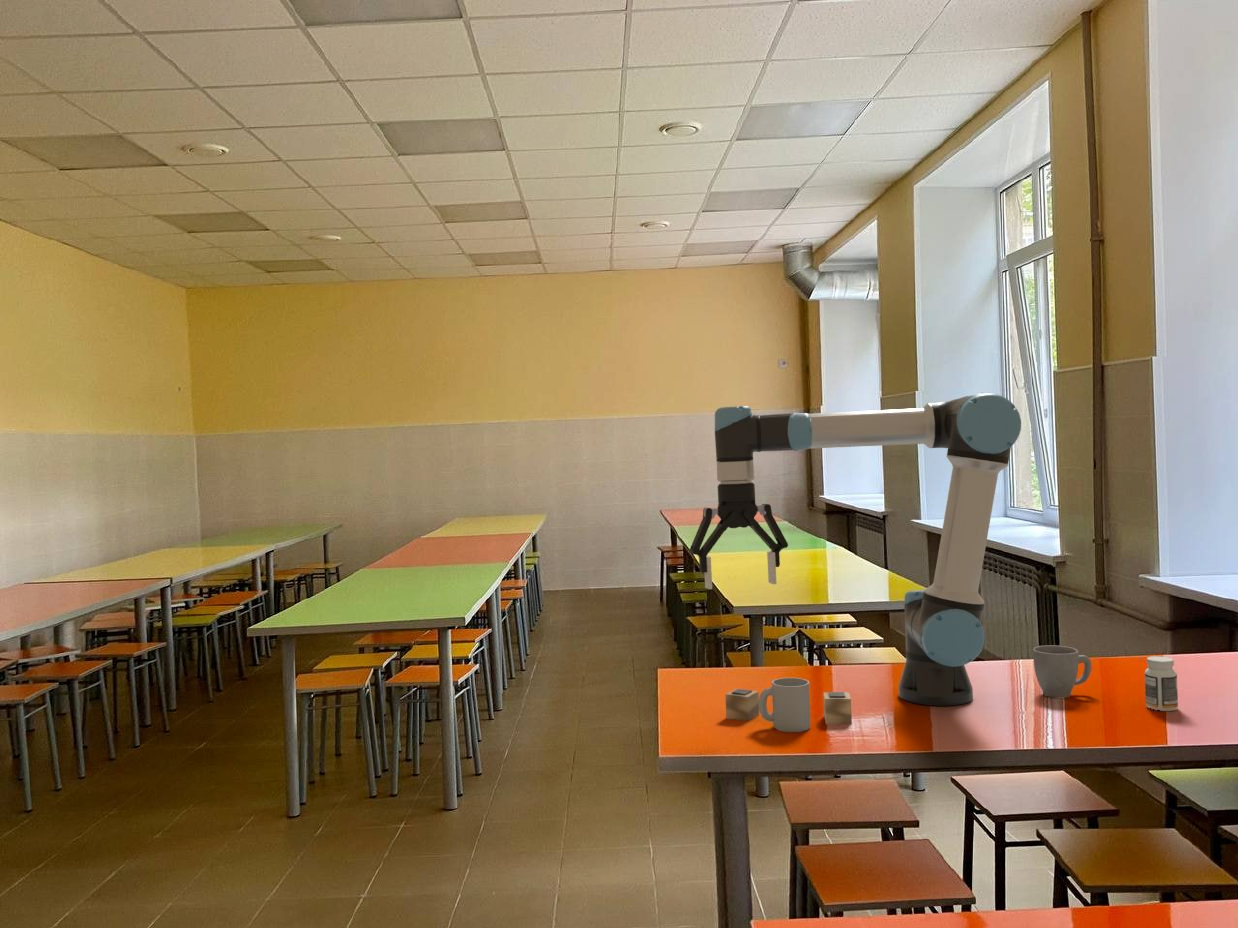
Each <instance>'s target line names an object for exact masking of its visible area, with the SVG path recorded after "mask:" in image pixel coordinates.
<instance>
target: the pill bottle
mask: <svg viewBox="0 0 1238 928" xmlns="http://www.w3.org/2000/svg"><path fill="white" fill-rule="evenodd" d="M1174 661H1175V660H1174V659H1173V657H1172V658H1171V657H1167V656H1155V655H1154V656H1149V657H1146V665H1147V666H1148V668H1146V669H1145V671H1144V691H1145V692H1144V695H1145V706H1146V708H1148V709H1150V708H1151V709H1150V710H1153V709H1154V710H1153V711H1157V710H1160V711H1159V712H1172V711H1176V710H1178V708H1179V700H1178V698H1179V697H1178V674H1177V671H1175V670H1174V669H1173V667H1174V665H1175V662H1174Z"/></svg>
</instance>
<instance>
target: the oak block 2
mask: <svg viewBox="0 0 1238 928" xmlns="http://www.w3.org/2000/svg"><path fill="white" fill-rule="evenodd" d="M823 716H824V717H823V718H824V721H825V724H826V725H828V724H835V725H837V724H838V725H840V724H841V725H843V724H844V725H846V724H847V725H852V723H853V721H852V720H853V719H852V717H853V716H852V698H851V695H850V693H849V692H845V691H844V692H843V691H841V692H840V691H839V692H838V691H836V692H835V691H834V692H833V691H832V692H831V691H830V692H823Z"/></svg>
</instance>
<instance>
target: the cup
mask: <svg viewBox="0 0 1238 928" xmlns="http://www.w3.org/2000/svg"><path fill="white" fill-rule="evenodd" d="M810 695H811V694H810V681H809V680H808V679H804V678H799V677H781V678H776V679H773V680H772V681H771V687H769V686H768V687H767V688H764V689H763V690H762V691H761V692H760V693H759V695H758V696H759V701H758V707H759V715H760V716H761V717H762V718H763V719H764V720H765V721H768V722H770V723H773V724H772V725H773V727H774V729H775V730H777V731H780V732H783V733H802V732H806V731H809V730H810V728H811V700H810V699H811V698H810V697H811V696H810ZM771 696H772V699H771V700H772V712H771V713H770V712H769V710H768V706H767V701H768V697H771Z"/></svg>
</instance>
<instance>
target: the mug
mask: <svg viewBox="0 0 1238 928" xmlns="http://www.w3.org/2000/svg"><path fill="white" fill-rule="evenodd" d="M1032 657H1033V666H1034V667H1033V668H1034V672H1035V677H1036V681H1037V682H1038V684H1039V687H1040V688H1041V692H1042V695H1043V696H1046V697H1050V698H1055V699H1064V698H1065V699H1066V698H1070V697H1071V695H1072V694H1071V693H1072V691H1073V688H1074V687H1075V686H1079V685H1081V684H1083V683H1084V684H1085V683H1086V682H1087V681H1088V679H1089V677H1090V675H1091V673H1092V669H1093V668H1092V661H1091V659H1090V658H1089V656H1087V655H1085V654H1079V651H1078V649H1077V648H1074V647H1070V646H1067V645H1066V646H1065V645H1056V644H1055V645H1054V644H1053V645H1052V644H1051V645H1050V644H1049V645H1048V644H1047V645H1038V646H1035V647H1034V648H1033V650H1032ZM1082 663H1083V664H1084V666H1083V672H1082V674H1081V676H1080V677H1079V678H1078V672H1079V664H1082Z"/></svg>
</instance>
